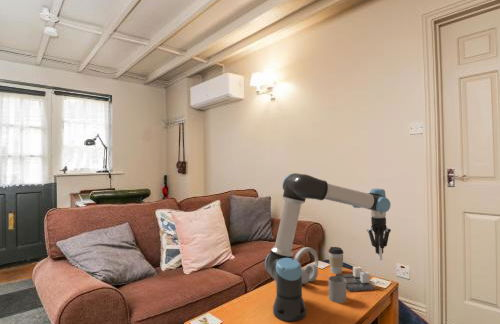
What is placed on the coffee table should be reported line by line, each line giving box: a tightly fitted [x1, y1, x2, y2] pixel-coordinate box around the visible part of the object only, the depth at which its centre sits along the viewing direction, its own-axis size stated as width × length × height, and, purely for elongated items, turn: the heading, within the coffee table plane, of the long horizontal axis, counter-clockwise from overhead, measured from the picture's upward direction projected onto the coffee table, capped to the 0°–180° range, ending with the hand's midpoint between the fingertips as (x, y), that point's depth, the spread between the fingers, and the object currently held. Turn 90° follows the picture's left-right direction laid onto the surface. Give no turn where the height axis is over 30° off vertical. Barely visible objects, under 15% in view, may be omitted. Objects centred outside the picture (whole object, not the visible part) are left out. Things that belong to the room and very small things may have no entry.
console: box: [335, 273, 375, 292], centre depth 164 cm, size 14×18×3 cm
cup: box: [328, 275, 347, 304], centre depth 146 cm, size 8×8×10 cm
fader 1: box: [352, 266, 363, 277], centre depth 168 cm, size 4×3×5 cm
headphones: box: [293, 246, 319, 285], centre depth 166 cm, size 19×8×20 cm, turn 126°
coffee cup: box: [328, 246, 344, 275], centre depth 181 cm, size 9×9×15 cm
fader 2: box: [360, 271, 371, 283], centre depth 160 cm, size 4×3×5 cm
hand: (379, 259), depth 161 cm, fingers closed
